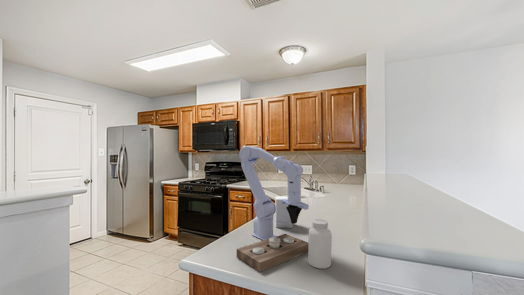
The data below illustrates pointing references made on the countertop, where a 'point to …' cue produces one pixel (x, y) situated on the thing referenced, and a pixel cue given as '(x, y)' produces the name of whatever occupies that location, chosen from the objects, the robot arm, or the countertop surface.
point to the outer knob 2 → (288, 240)
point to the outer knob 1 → (258, 251)
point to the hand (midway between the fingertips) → (294, 223)
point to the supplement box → (282, 214)
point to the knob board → (272, 252)
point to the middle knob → (274, 243)
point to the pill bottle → (319, 244)
